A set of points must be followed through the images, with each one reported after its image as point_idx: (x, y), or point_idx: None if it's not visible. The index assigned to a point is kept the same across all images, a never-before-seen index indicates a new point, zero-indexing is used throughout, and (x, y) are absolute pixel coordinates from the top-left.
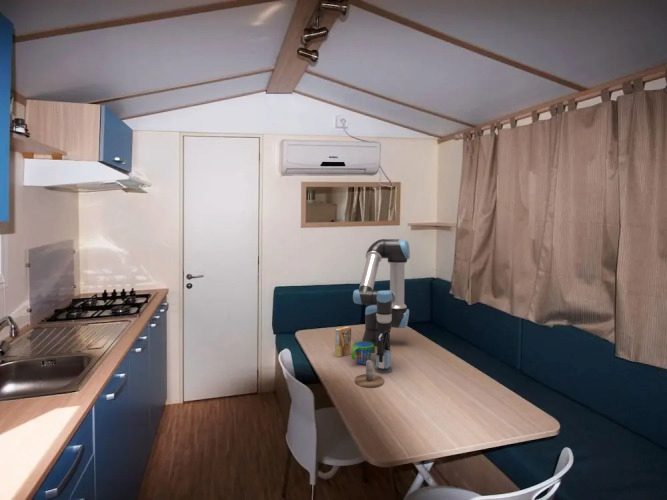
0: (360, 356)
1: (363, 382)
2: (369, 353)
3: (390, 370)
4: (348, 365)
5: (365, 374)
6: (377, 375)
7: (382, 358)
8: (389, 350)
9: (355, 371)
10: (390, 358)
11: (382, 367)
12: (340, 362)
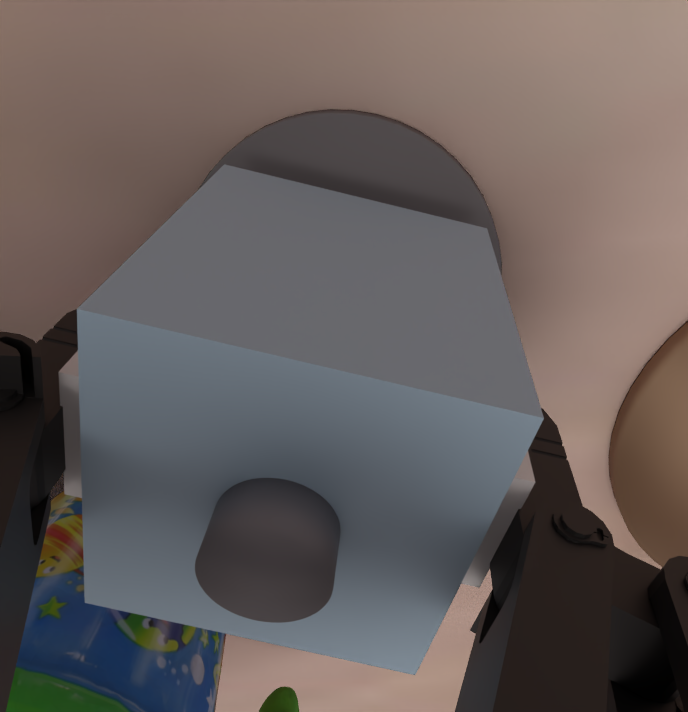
0: (220, 670)
1: None
2: (137, 622)
3: (394, 149)
4: (301, 650)
5: (633, 510)
6: (682, 359)
7: None
8: (88, 374)
9: (472, 591)
10: (252, 234)
11: None
12: (242, 704)
